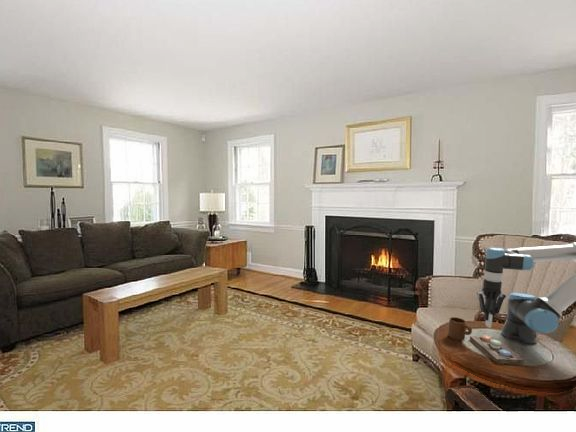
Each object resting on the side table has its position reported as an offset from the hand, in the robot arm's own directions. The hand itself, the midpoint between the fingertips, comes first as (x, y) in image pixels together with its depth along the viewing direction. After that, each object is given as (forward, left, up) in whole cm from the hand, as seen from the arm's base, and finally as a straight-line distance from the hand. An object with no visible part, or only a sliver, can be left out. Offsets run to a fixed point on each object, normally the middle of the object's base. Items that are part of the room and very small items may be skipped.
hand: (488, 326), depth 160 cm
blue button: (0, +13, -9) cm, 16 cm away
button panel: (0, +6, -10) cm, 11 cm away
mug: (+11, -5, -10) cm, 15 cm away
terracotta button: (0, -1, -9) cm, 9 cm away
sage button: (0, +6, -8) cm, 10 cm away
